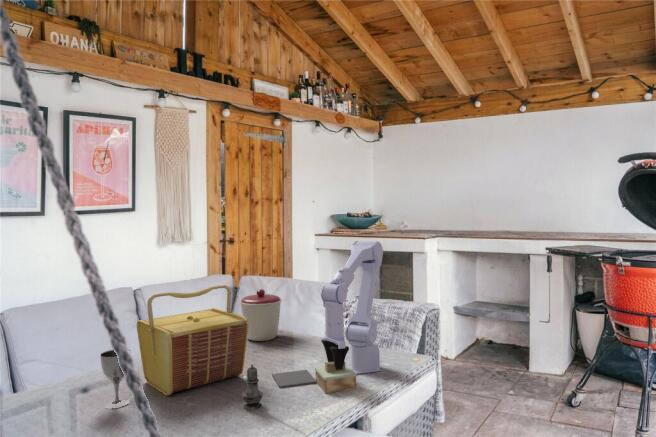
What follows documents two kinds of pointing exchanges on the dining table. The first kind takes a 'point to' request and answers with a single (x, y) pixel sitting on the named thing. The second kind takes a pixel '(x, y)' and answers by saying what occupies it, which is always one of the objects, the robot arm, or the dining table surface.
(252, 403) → the salt shaker
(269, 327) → the canister
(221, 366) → the picnic basket
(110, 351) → the wine glass
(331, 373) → the lid
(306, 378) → the mat
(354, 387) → the box
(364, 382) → the dining table surface
